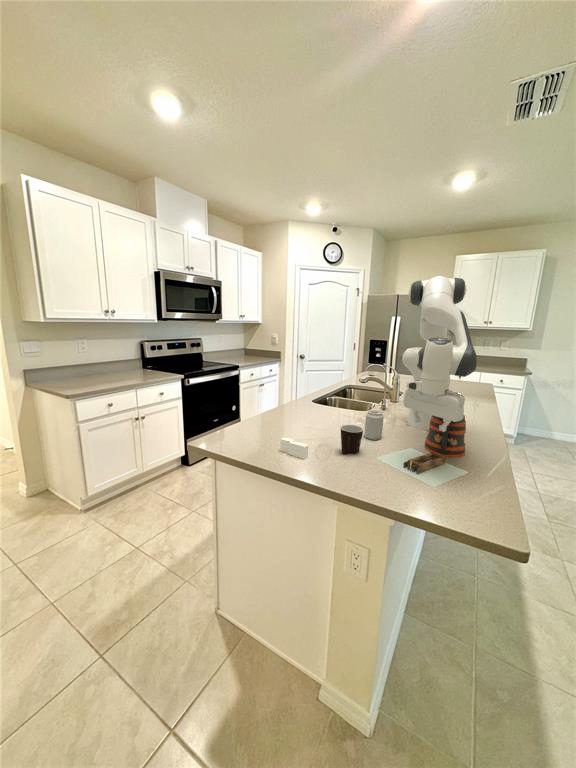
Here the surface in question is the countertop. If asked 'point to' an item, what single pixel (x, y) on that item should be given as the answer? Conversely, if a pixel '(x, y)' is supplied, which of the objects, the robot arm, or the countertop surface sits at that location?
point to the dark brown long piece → (425, 462)
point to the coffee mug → (351, 439)
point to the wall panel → (428, 477)
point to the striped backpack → (446, 438)
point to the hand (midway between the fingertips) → (429, 426)
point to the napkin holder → (294, 448)
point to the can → (374, 425)
